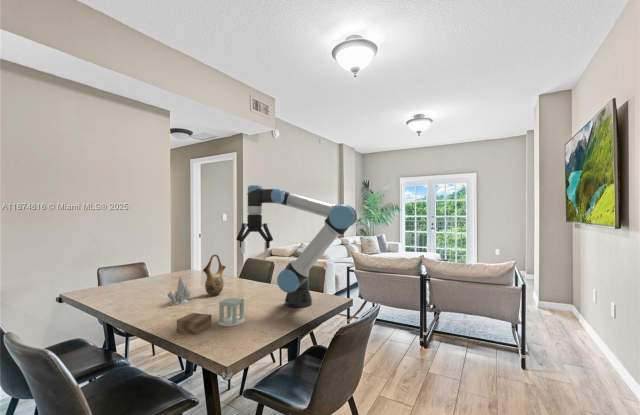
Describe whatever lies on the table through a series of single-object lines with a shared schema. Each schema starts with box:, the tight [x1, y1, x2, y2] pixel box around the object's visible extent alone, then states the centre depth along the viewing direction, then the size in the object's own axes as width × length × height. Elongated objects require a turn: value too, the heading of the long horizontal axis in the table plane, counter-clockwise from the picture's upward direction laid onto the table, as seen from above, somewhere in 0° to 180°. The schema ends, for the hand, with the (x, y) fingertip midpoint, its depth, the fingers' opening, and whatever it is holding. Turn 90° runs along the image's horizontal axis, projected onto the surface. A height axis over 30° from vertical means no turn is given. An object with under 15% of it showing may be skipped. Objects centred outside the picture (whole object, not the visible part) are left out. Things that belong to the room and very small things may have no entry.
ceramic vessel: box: [202, 253, 227, 297], centre depth 189 cm, size 16×9×25 cm, turn 147°
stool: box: [218, 297, 245, 324], centre depth 143 cm, size 8×8×9 cm
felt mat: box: [217, 315, 246, 327], centre depth 143 cm, size 12×12×1 cm
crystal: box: [167, 275, 191, 306], centre depth 173 cm, size 10×13×15 cm
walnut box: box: [176, 312, 212, 335], centre depth 134 cm, size 10×10×5 cm
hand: (254, 254), depth 163 cm, fingers open, 13 cm apart
